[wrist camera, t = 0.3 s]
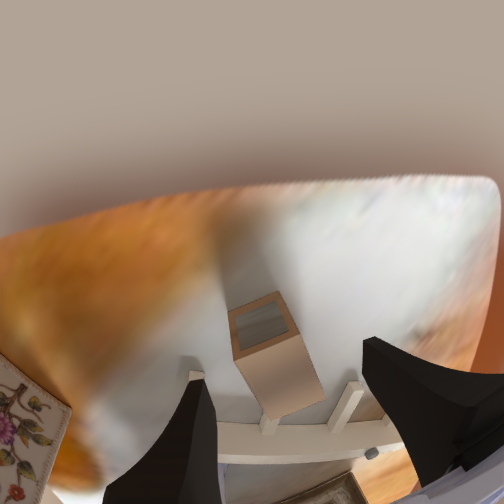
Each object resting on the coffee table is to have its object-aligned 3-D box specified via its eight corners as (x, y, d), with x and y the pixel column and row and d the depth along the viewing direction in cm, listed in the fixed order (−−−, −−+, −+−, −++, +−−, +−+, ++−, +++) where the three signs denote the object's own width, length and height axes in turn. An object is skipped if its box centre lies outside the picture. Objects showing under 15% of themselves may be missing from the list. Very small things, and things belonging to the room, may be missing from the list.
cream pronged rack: (387, 426, 29) (403, 452, 25) (175, 426, 25) (173, 463, 21) (416, 378, 27) (438, 404, 23) (182, 369, 23) (178, 408, 19)
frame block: (303, 350, 24) (326, 398, 18) (258, 369, 24) (270, 421, 18) (278, 289, 22) (300, 333, 16) (227, 311, 22) (233, 360, 16)
